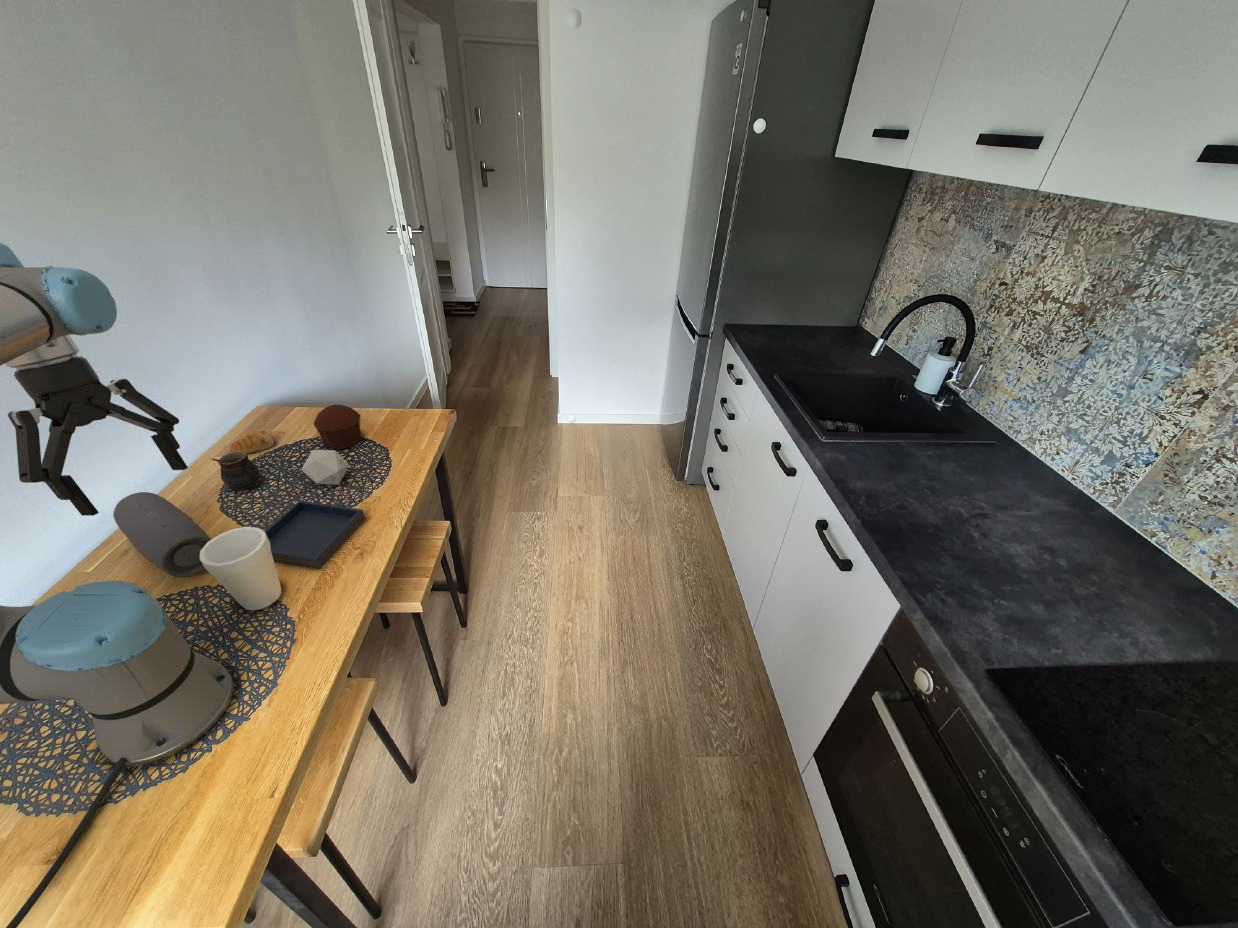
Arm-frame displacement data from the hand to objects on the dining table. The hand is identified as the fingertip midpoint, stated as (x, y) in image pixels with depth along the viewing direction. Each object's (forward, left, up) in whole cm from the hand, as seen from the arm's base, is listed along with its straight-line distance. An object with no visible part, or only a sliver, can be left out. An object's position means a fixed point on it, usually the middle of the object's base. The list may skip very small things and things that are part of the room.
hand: (138, 490), depth 79 cm
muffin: (+52, +6, -23) cm, 57 cm away
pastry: (+44, +26, -23) cm, 56 cm away
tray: (+16, -10, -23) cm, 30 cm away
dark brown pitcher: (+29, +16, -23) cm, 40 cm away
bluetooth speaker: (+7, +12, -23) cm, 27 cm away
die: (+35, -2, -23) cm, 42 cm away
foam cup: (0, -12, -23) cm, 26 cm away
